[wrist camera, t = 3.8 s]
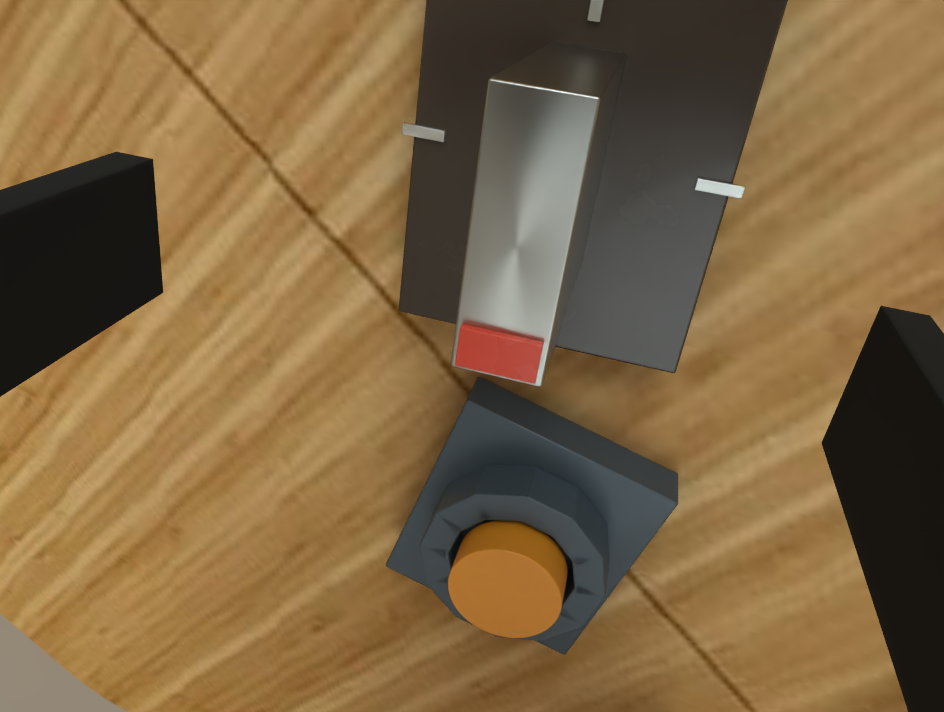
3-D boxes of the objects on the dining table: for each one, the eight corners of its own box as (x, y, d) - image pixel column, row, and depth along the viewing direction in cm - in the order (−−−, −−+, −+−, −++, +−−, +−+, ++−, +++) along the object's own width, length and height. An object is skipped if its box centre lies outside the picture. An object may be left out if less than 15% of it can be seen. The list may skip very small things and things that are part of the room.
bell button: (484, 501, 29) (473, 531, 27) (587, 552, 29) (582, 584, 27) (443, 574, 31) (431, 605, 29) (539, 621, 31) (532, 655, 29)
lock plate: (446, -101, 23) (421, -109, 21) (804, -51, 22) (819, -53, 19) (409, 284, 29) (387, 311, 27) (684, 345, 28) (685, 378, 26)
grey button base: (478, 375, 30) (453, 427, 27) (678, 473, 30) (679, 538, 27) (398, 537, 36) (369, 598, 32) (570, 622, 35) (558, 693, 32)
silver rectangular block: (551, 41, 22) (485, 78, 14) (626, 53, 22) (599, 99, 14) (516, 249, 25) (447, 371, 17) (581, 263, 25) (539, 393, 17)
